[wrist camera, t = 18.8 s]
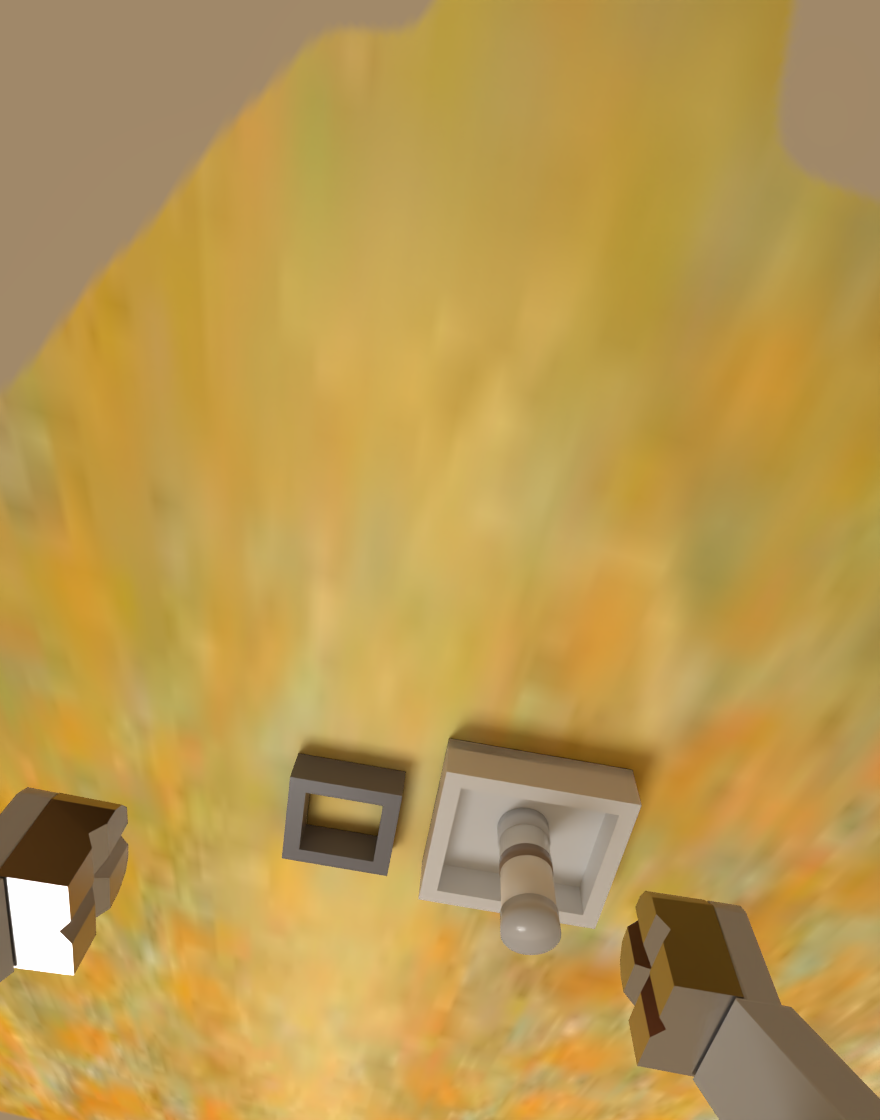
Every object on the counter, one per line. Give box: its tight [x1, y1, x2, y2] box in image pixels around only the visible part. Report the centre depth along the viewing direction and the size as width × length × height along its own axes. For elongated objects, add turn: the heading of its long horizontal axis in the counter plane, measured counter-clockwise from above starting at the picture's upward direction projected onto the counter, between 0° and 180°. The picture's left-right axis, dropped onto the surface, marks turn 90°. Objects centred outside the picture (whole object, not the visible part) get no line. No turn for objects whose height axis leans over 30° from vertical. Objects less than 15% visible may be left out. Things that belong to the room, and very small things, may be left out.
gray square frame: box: [282, 753, 406, 876], centre depth 55 cm, size 8×8×2 cm
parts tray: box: [419, 738, 641, 929], centre depth 54 cm, size 13×12×4 cm
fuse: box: [497, 808, 561, 955], centre depth 51 cm, size 4×4×9 cm
